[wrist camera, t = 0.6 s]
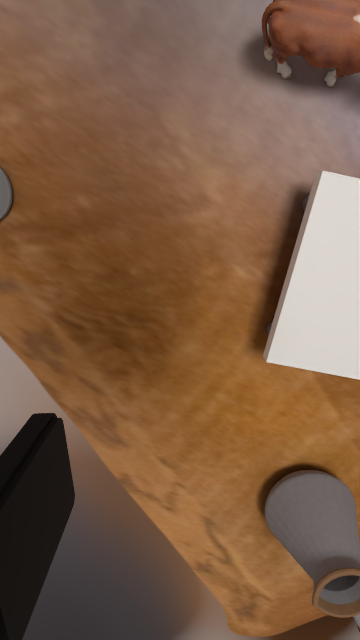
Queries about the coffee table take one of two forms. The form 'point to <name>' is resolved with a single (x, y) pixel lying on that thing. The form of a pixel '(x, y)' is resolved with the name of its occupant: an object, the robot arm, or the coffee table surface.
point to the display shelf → (322, 284)
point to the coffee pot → (320, 536)
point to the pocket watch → (5, 194)
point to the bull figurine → (314, 35)
